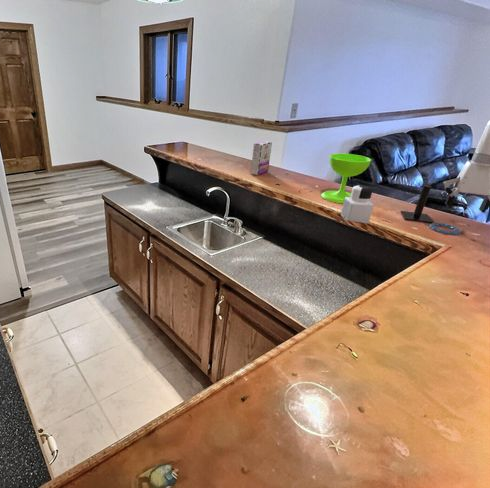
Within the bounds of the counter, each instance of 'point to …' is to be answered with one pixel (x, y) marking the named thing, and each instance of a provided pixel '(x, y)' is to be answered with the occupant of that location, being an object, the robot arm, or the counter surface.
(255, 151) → the candy bar box
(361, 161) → the wineglass
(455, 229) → the ring
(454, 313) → the counter surface
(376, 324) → the counter surface
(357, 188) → the container
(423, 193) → the stand
